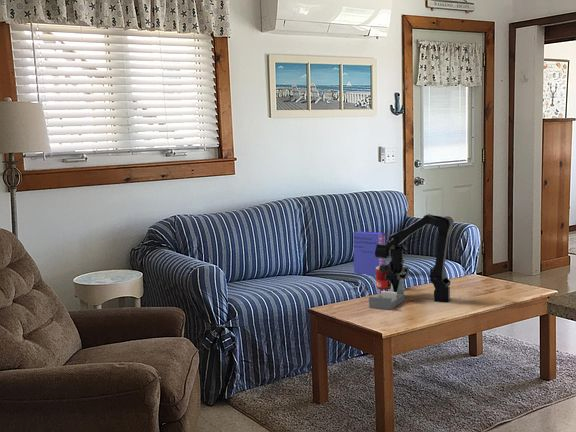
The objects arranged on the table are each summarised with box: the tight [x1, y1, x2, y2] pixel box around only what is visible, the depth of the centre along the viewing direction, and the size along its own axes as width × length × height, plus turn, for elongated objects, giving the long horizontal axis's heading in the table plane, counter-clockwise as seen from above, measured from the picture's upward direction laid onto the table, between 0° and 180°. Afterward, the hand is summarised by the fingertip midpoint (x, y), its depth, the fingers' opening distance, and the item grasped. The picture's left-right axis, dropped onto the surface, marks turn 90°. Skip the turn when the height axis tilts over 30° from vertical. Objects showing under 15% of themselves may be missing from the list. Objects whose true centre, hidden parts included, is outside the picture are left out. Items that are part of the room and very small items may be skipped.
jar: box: [390, 277, 405, 296], centre depth 315 cm, size 6×6×7 cm
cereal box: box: [352, 230, 387, 277], centre depth 366 cm, size 17×5×24 cm, turn 58°
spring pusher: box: [380, 290, 398, 300], centre depth 305 cm, size 7×1×4 cm, turn 62°
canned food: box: [375, 266, 391, 291], centre depth 333 cm, size 8×8×11 cm
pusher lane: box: [368, 293, 406, 311], centre depth 302 cm, size 10×19×5 cm, turn 152°
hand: (397, 290), depth 315 cm, fingers closed on jar, 6 cm apart
